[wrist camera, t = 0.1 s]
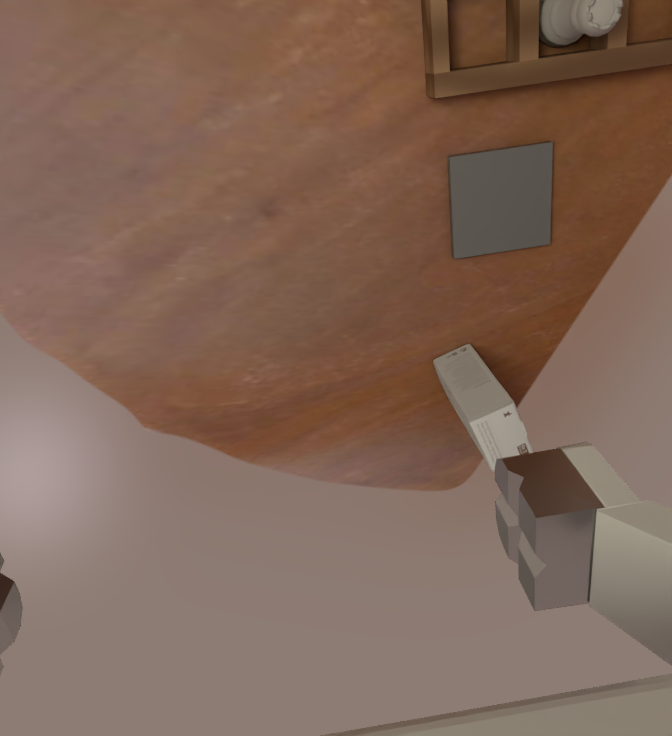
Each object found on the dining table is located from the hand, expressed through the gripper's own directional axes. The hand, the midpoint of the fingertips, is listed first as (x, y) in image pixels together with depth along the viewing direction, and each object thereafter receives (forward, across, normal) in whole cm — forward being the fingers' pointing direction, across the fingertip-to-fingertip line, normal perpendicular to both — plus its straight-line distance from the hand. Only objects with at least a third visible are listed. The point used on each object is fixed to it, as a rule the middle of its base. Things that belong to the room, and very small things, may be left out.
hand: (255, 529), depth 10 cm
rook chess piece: (+48, -25, -7) cm, 55 cm away
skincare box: (+48, -16, +24) cm, 56 cm away
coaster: (+48, -20, +7) cm, 52 cm away
